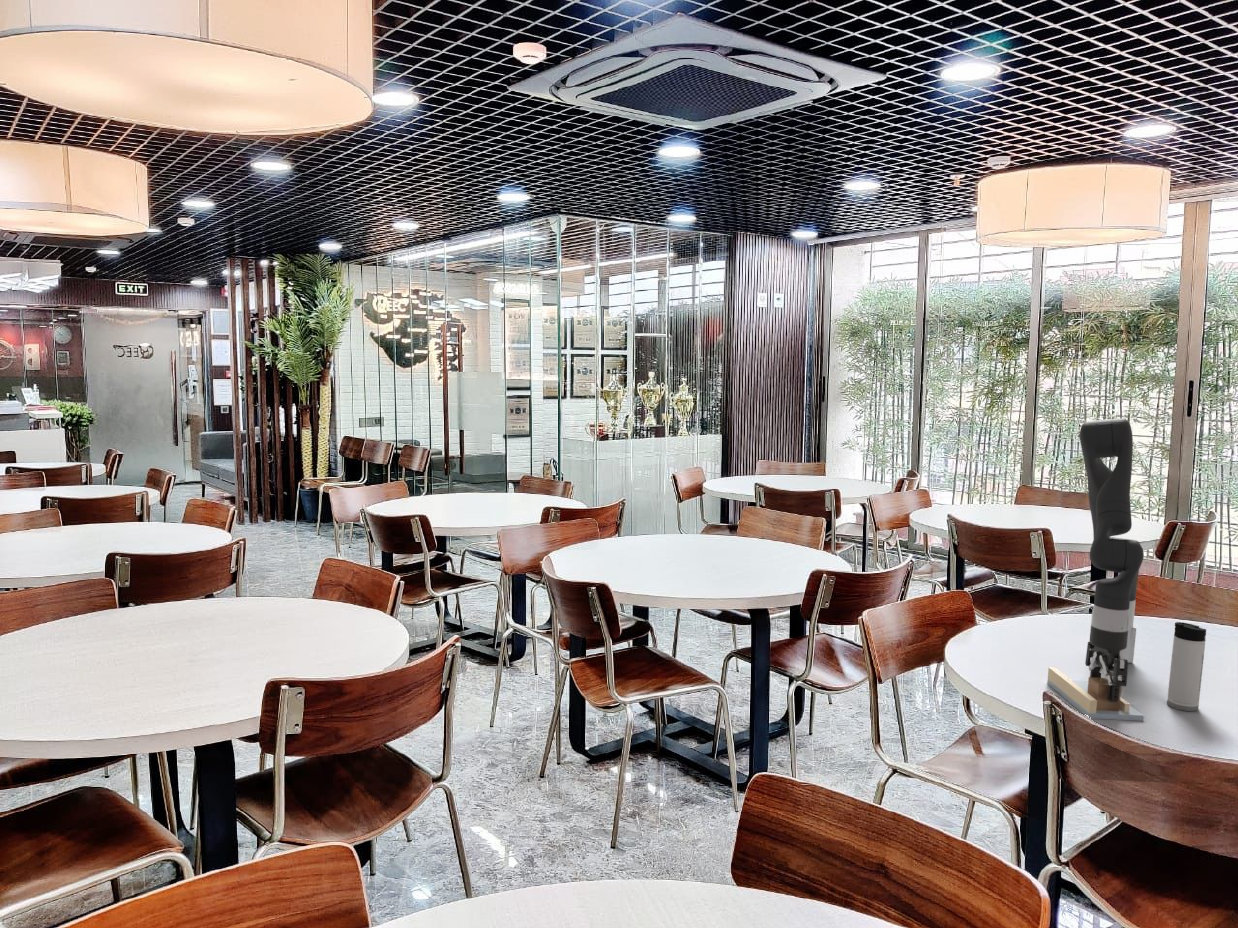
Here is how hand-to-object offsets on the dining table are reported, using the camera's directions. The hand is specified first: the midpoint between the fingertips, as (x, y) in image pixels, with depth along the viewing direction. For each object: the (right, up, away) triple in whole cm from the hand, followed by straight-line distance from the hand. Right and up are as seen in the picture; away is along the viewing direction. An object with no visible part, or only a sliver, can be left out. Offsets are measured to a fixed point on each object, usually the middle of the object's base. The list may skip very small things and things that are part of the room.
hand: (1103, 694), depth 207 cm
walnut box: (0, -3, 0) cm, 3 cm away
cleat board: (+1, -3, +7) cm, 8 cm away
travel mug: (+21, -4, +5) cm, 22 cm away
